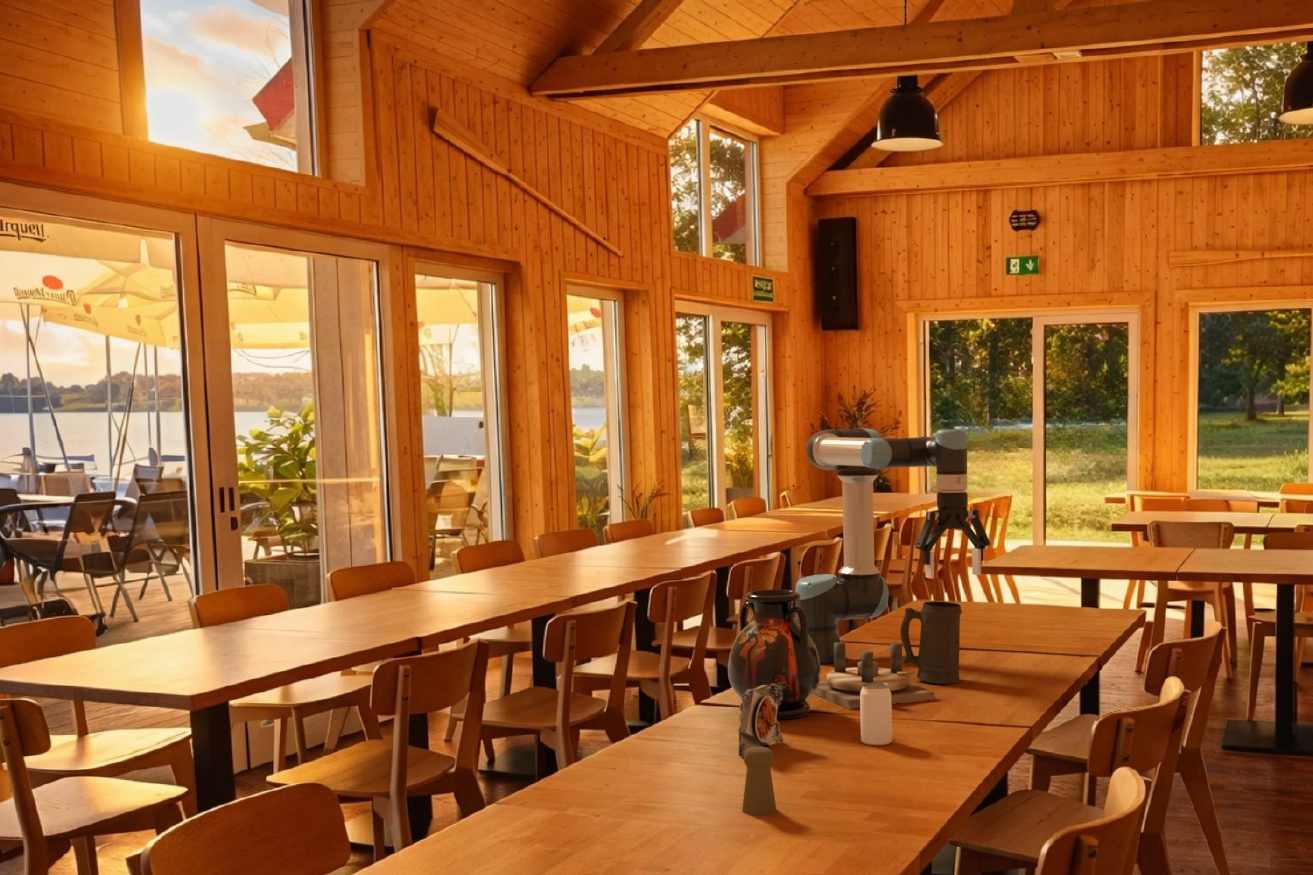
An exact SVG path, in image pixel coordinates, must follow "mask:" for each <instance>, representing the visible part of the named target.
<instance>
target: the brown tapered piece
mask: <svg viewBox="0 0 1313 875" xmlns="http://www.w3.org/2000/svg"><path fill="white" fill-rule="evenodd" d="M772 751H773V750H772V749H770V748H769V747H766V746H761V747H750V748H748V749H747V750H746V751H745V752H744V758H743V762H744V765H745V766H746V772H745V783H744V790H743V801H742V810H741V811H742V812H743V813H744V814H745V815H750V816H758V817H759V816H761V817H762V816H764V817H765V816H769V815H773V814H775V813H776V812H777V805H776V804H777V803H776V798H775V791H774V784H773V778H772V771H771V768H772V765H773V763H774V754H773V752H772Z"/></svg>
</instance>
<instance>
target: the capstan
mask: <svg viewBox="0 0 1313 875" xmlns="http://www.w3.org/2000/svg"><path fill="white" fill-rule="evenodd" d="M889 649H890V650H889V651H890V668H886V667H879V662H877V661H875V660H874V652H873V651H861V653H860V656H861V657H860V659H861V660H860V661H858V662H857V667H856V666H854V667H846V665H847V664H846V660H847V659H846V657H847V656H846V643H845V642H842V641H841V642H837V643H834V663H833V666H834V667H833V670H831V671H829V672H827V673H826V680H827V684H828V685H829V686H831V687H834V688H837V689H842V690H848V691H859V692H861V690H862V687H863V686H862V685H863V684H866V683H884V684H888V685H889V689H890V691H893V690H899V689H903V688H906V687H908V686H909V684H910V683H911V680H910V677H917V674H916V673H917V672H916V671H903V644H902V643H900V642H893V643H890V648H889Z"/></svg>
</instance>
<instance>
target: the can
mask: <svg viewBox="0 0 1313 875" xmlns="http://www.w3.org/2000/svg"><path fill="white" fill-rule="evenodd" d="M862 686H863V687H862V690H861V692H860V708H859V710H860V711H859V712H860V713H859V714H860V740H861V742H862V744H863V745H867V746H872V745H873V747H875V746H876V747H880V746H881V745H883V746H888V745H890V744H891V743H892V741H893V721H892V720H893V717H892V716H893V715H892V714H893V711H892V707H893V704H892V703H891V691H890V689H889V685H888V684H884V683H866V684H863V685H862Z"/></svg>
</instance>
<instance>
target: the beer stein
mask: <svg viewBox="0 0 1313 875" xmlns="http://www.w3.org/2000/svg"><path fill="white" fill-rule="evenodd" d="M904 609H905V611H904V615H903V616H904V617H903V619H902V621H901V625H900V639H901V644H902V647H903V648H904V652H905V656H904V657H902V662H903V665H909V664H913V665H915V666H916V667H917V668H918V669H917V670H918V671H917V674H916V678H917V679H919V680H920V681H923V682H927V683H933V684H943V685H946V684H947V685H949V684H958V683H959V682H960V669H961V667H960V636H961V634H960V631H961V630H960V629H961V627H960V626H961V621H960V620H961V614H962V612H963V611H962V606H961V605H960V604H958V603H955V602H950V601H949V602H948V601H925V602H923V604H922V607H921V611H919V610H915V609H913V607H905V608H904ZM913 619H918V620H919V622H920V624H921V625H920V635H919V648H918V655H915V654H914V653H913V648H912V646H911V641H910V634H909V631H910V630H909V629H910V624H911V622H912V620H913Z"/></svg>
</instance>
